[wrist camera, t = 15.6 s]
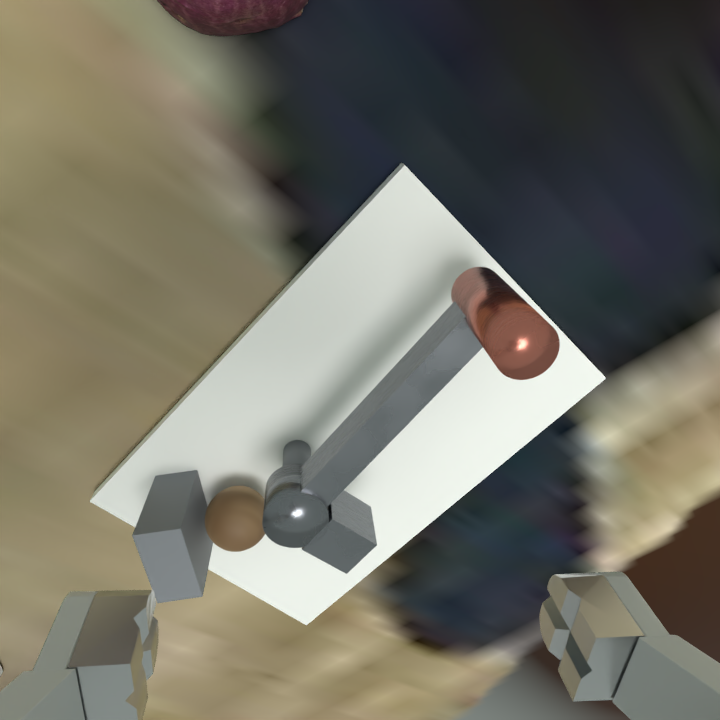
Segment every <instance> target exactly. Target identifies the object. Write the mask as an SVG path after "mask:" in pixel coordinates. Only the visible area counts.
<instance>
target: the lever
mask: <svg viewBox="0 0 720 720" xmlns="http://www.w3.org/2000/svg"><path fill="white" fill-rule="evenodd" d="M451 299H452V302H453V303H452V304H451V305H450V307H449V308H448V309H447V310H446V311H445V312H444V313H443V314H442V315H441V316H440V317H439V318H438V320H437V321H436V322H435V323H434V324H433V325H432V326H431V327H430V328H429V329H428V330H427V331H426V333H425V334H424V335H423V336H422V337H421V338H420V339H419V340H418V341H417V342H416V343H415V344H414V345H413V347H412V348H411V349H410V350H409V351H408V352H407V353H406V354H405V355H404V356H403V357H402V358H401V360H400V361H399V362H398V363H397V364H396V365H395V366H394V367H393V368H392V369H391V370H390V371H389V373H388V374H387V375H386V376H385V377H384V378H383V379H382V380H381V381H380V382H379V383H378V384H377V386H376V387H375V388H374V389H373V390H372V391H371V392H370V393H369V394H368V395H367V396H366V397H365V398H364V400H363V401H362V402H361V403H360V404H359V405H358V406H357V407H356V408H355V409H354V410H353V411H352V413H351V414H350V415H349V416H348V417H347V418H346V419H345V420H344V421H343V422H342V423H341V424H340V426H339V427H338V428H337V429H336V430H335V431H334V432H333V433H332V434H331V435H330V436H329V437H328V438H327V440H326V441H325V442H324V443H323V444H322V445H321V446H320V447H319V448H318V449H317V450H316V451H315V453H314V454H313V455H312V456H311V457H310V458H309V459H308V460H307V461H306V462H305V463H304V464H290V465H286V466H283V467H281V468H279V469H277V470H276V471H274V472H273V473H272V474H271V476H270V477H269V479H268V480H267V483H266V489H265V499H264V510H263V520H262V525H263V530H264V532H265V534H266V535H267V537H268V538H269V539H270V540H271V541H273V542H274V543H276V544H278V545H280V546H283V547H288V548H301V547H302V550H303V551H305V552H307V553H309V554H311V555H312V556H314V557H316V558H318V559H320V560H322V561H323V562H325V563H327V564H329V565H331V566H333V567H334V568H336V569H338V570H340V571H342V572H344V573H346V574H347V573H348V572H349V571H351V570H352V569H353V568H354V567H355V566H356V565H357V564H358V563H359V562H360V561H361V560H362V559H363V558H364V557H365V556H366V555H367V554H368V553H369V552H370V551H371V550H372V549H373V548H375V547H376V546H377V541H376V535H375V529H374V523H373V517H372V510H371V506H369V505H367V504H366V503H364V502H362V501H361V500H359V499H358V498H356V497H354V496H353V495H351V494H349V493H348V492H346V491H344V489H345V488H346V487H347V486H348V485H349V484H350V483H351V482H352V481H353V480H354V479H355V478H356V477H357V476H358V475H359V474H360V473H361V472H362V471H363V470H364V469H365V468H366V467H367V466H368V465H369V464H370V463H371V462H372V461H373V460H374V459H375V458H376V456H377V455H378V454H379V453H380V452H381V451H382V450H383V449H384V448H385V447H386V446H387V445H388V444H389V443H390V442H391V441H392V440H393V439H394V438H395V437H396V436H397V435H398V434H399V433H400V432H401V431H402V430H403V429H404V428H405V427H406V426H407V425H408V424H409V423H410V422H411V421H412V420H413V419H414V417H415V416H416V415H417V414H418V413H419V412H420V411H421V410H422V409H423V408H424V407H425V406H426V405H427V404H428V403H429V402H430V401H431V400H432V399H433V398H434V397H435V396H436V395H437V394H438V393H439V392H440V391H441V390H442V389H443V388H444V387H445V386H446V385H447V384H448V383H449V382H450V381H451V380H452V379H453V377H454V376H455V375H456V374H457V373H458V372H459V371H460V370H461V369H462V368H463V367H464V366H465V365H466V364H467V363H468V362H469V361H470V360H471V359H472V358H473V357H474V356H475V355H476V354H477V353H478V352H479V351H480V350H481V349H482V348H484V350H485V351H486V352H487V354H488V355H489V357H490V358H491V360H492V361H493V362H494V364H495V365H496V367H497V368H498V370H499V371H500V372H501V373H502V374H503V375H505V376H507V377H509V378H511V379H515V380H527V379H531V378H534V377H537V376H539V375H541V374H542V373H544V372H545V371H546V370H547V369H549V367H550V366H551V365H552V364H553V363H554V361H555V359H556V358H557V355H558V352H559V347H560V341H559V336H558V334H557V332H556V330H555V329H554V328H553V327H552V326H551V325H550V324H549V323H548V322H547V321H546V320H545V319H544V318H543V317H542V316H541V315H540V314H539V313H538V312H537V311H536V310H535V309H534V308H533V307H531V306H530V305H529V304H528V303H527V302H526V301H525V300H524V299H523V298H522V297H521V296H520V295H519V294H518V293H517V292H516V291H515V290H514V289H513V288H511V287H510V286H509V285H508V284H507V283H506V282H505V281H504V280H503V279H502V278H501V277H500V276H499V275H498V274H497V273H496V272H494V271H493V270H491V269H489V268H486V267H473V268H470V269H468V270H466V271H464V272H463V273H462V274H460V275H459V276H458V278H457V279H456V280H455V282H454V284H453V287H452V291H451Z"/></svg>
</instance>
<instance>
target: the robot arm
mask: <svg viewBox="0 0 720 720" xmlns="http://www.w3.org/2000/svg"><path fill="white" fill-rule="evenodd" d="M547 589H548V591H549V593H550V594H551V596H550V597H549V598H548V599H547V600H545V601H544V602H543V603H542V607H541V611H540V615H539V616H540V629H541V633H542V636H543V640H544V642H545V644H546V646H547V648H548V650H549V651H550V652H551V653H552V654H553V655H555V656H556V657H557V658H558V659H560V664H559V668H558V671H559V673H560V675H561V678H562V680H563V682H564V684H565V686H566V688H567V689H568V692H569V694H570V696H571V698H572V700H573V701H593V700H613V703H614V704H615V705H616V706H617V707H618V708H619V709H621V710H622V711H623V712H624V713H625V714H626V715H627V716H628V717H629V718H630V719H631V720H720V663H718V662H717V661H715V660H714V659H712V658H710V657H709V656H707V655H706V654H704V653H703V652H701V651H700V650H698V649H697V648H695V647H694V646H692V645H691V644H689V643H688V642H686V641H685V640H683V639H682V638H680V637H678V636H677V635H669V633H668V632H667V631H666V629H665V628H664V627H663V625H662V624H661V622H660V621H659V620H658V618H657V617H656V616H655V614H654V613H653V611H652V610H651V609H650V607H649V606H648V604H647V603H646V602H645V600H644V599H643V598H642V596H641V595H640V593H639V592H638V591H637V589H636V588H635V587H634V585H633V584H632V582H631V581H630V580H629V579H628V577H627V576H626V575H625V574H623V573H622V572H599V573H575V574H555V575H553V576H552V577H551V578H550V580H549V583H548V586H547ZM155 606H156V600H155V593H154V591H153V590H116V591H74V592H70V593H69V594H68V595H67V596H66V597H65V598H64V600H63V602H62V605H61V607H60V609H59V611H58V614H57V616H56V618H55V620H54V623H53V625H52V627H51V630H50V632H49V634H48V636H47V639H46V641H45V643H44V646H43V648H42V650H41V652H40V655H39V657H38V659H37V661H36V664H35V666H34V668H33V671H24V672H22V673H21V674H20V675H19V676H18V677H16V678H15V679H14V680H13V681H12V682H11V683H9V684H8V685H7V686H6V687H5V688H4V689H2V690H1V691H0V720H143V715H144V711H145V707H146V703H147V698H148V693H147V683H146V680H147V679H148V678H149V677H150V676H151V675H152V674H153V672H154V667H155V662H156V656H157V648H158V620H156V619H155V618H154V617H153V614H154V610H155ZM2 672H3V670H2V667H1V665H0V676H1V675H2Z"/></svg>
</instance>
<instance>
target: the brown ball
mask: <svg viewBox="0 0 720 720" xmlns="http://www.w3.org/2000/svg"><path fill="white" fill-rule="evenodd" d="M263 510H264V498H263V497H262V495H261V494H260V493H258V492H257V491H256V490H254V489H252V488H250V487H246V486H232V487H229V488H226V489H224V490H222V491H221V492H219V493H218V494H217V495H216V496H215V497H214V498H213V499H212V500H211V502H210V503H209V505H208V507H207V510H206V514H205V527H206V531H207V534H208V536H209V538H210V539H211V540H212V541H213V543H214V544H215V545H217V546H218V547H220V548H222V549H224V550H226V551H231V552H240V551H244V550H247V549H250V548H252V547H253V546H255V545H256V544H257V543H258V542H259V541H260V540H261V539H262V538H263V537H264V535H265V532H264V530H263V525H262V520H263Z"/></svg>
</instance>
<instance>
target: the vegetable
mask: <svg viewBox="0 0 720 720" xmlns="http://www.w3.org/2000/svg"><path fill="white" fill-rule="evenodd" d="M157 1H158V2H159V3H160V4H161V5H162V6H163V7H164V8H165V9H166V10H167V11H168V12H169V13H170V14H171V15H172V16H173V17H174V18H176V19H177V20H178V21H180V22H181V23H182V24H184V25H185V26H187V27H189V28H191V29H193V30H196V31H198V32H200V33H202V34H206V35H215V36H232V35H242V34H248V33H255V32H260V31H264V30H267V29H272V28H277V27H279V26H281V25H283V24H285V23H286V22H288V21H290V20H292V19H294V18H296V17H299V16H301V14H302V11H303V8H304V6H305V5H306V4H307V2H308V1H309V0H157Z"/></svg>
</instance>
